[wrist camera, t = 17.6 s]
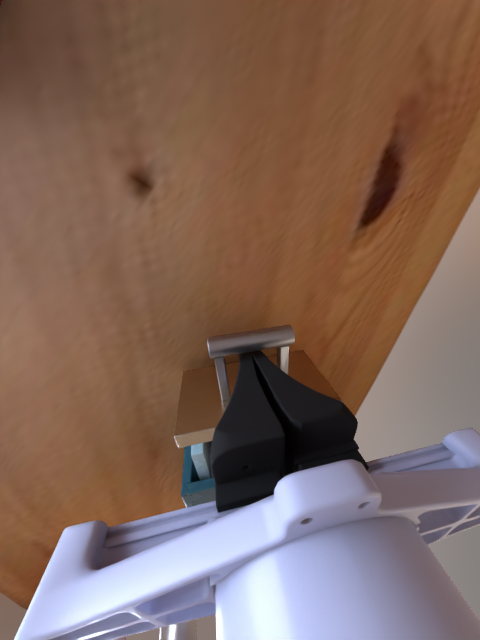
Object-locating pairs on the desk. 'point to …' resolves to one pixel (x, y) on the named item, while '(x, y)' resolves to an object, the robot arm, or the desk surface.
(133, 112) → the desk surface
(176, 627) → the plastic bottle
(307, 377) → the drawer
